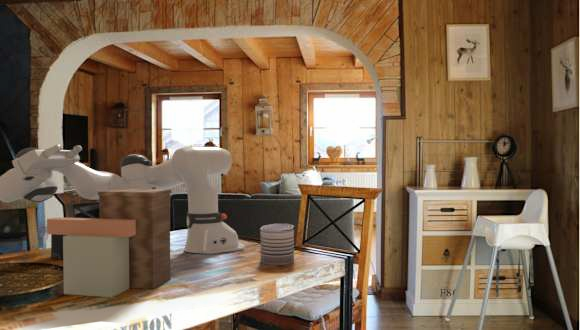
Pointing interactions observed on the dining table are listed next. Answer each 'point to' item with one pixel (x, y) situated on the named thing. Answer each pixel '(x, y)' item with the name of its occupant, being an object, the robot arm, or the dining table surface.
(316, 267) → the dining table surface
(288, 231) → the can
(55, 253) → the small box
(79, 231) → the rail
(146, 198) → the tall stand
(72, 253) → the low block
